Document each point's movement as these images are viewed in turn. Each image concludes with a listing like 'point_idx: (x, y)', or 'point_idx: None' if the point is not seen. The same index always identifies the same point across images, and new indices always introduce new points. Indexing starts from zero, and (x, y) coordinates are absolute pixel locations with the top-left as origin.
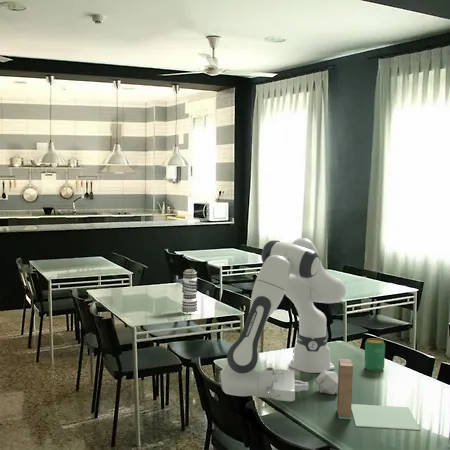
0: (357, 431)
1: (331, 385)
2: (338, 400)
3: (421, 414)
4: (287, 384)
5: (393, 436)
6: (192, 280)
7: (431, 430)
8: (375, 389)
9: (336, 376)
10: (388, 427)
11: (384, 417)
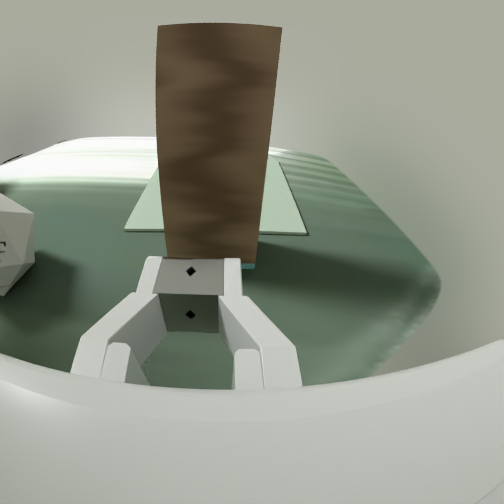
0: (338, 236)
1: (27, 234)
2: (220, 215)
3: None
4: (422, 470)
5: (327, 190)
6: None
7: (270, 154)
8: (50, 188)
9: (10, 199)
10: (288, 186)
11: None
